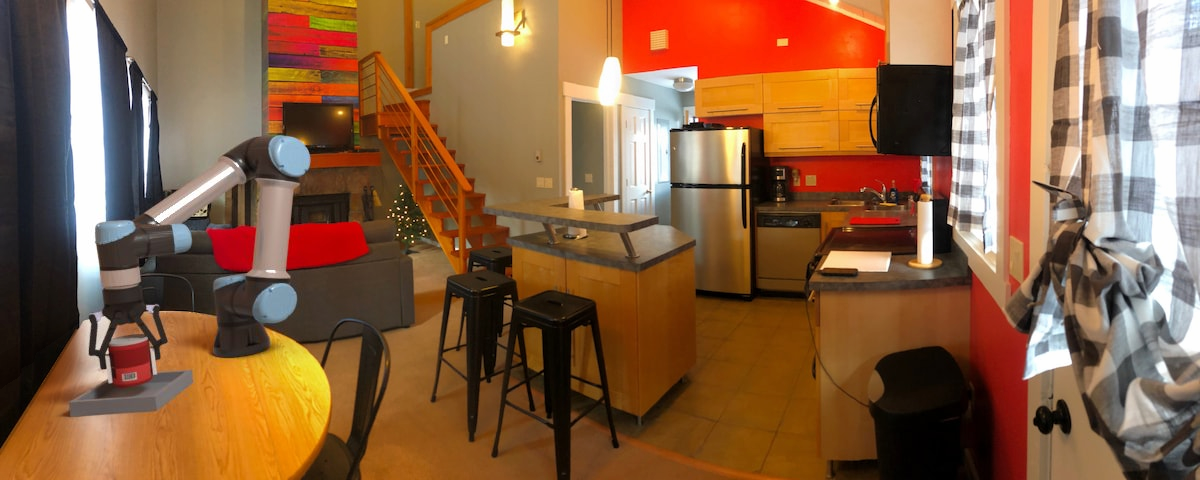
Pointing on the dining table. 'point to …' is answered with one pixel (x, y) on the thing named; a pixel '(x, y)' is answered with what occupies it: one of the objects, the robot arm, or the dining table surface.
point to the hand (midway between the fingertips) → (132, 377)
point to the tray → (131, 395)
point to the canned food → (130, 360)
